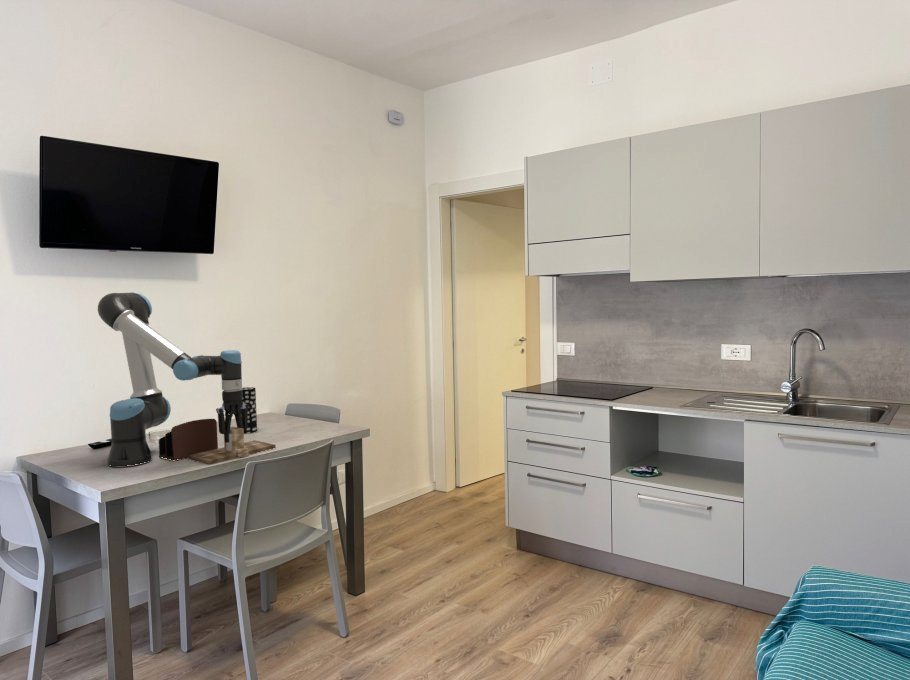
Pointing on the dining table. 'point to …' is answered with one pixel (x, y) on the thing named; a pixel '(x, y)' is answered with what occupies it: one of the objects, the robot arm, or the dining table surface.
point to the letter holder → (189, 439)
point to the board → (223, 455)
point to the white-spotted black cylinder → (250, 408)
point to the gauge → (237, 442)
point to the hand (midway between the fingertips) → (234, 448)
